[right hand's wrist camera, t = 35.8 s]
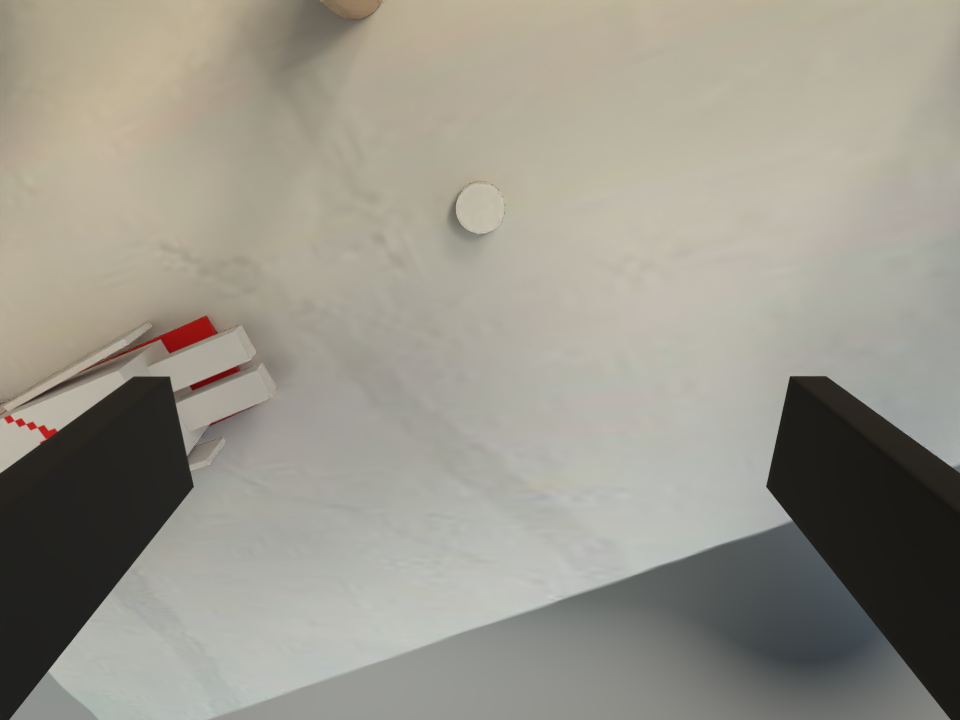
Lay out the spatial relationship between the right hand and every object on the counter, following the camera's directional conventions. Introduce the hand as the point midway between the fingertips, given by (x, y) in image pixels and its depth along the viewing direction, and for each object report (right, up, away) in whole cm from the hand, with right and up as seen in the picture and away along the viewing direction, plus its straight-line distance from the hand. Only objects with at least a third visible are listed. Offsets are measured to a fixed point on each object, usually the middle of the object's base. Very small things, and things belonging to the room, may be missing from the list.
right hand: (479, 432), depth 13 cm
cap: (0, +14, +34) cm, 37 cm away
